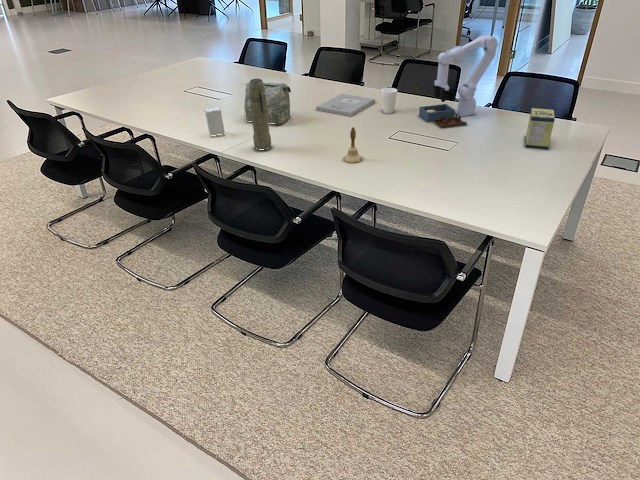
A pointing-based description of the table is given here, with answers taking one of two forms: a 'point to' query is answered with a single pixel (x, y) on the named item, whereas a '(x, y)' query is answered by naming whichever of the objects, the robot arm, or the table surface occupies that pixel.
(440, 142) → the table surface
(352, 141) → the hand bell
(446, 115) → the wash tub
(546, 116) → the protein box
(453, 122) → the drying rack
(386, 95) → the foam cup
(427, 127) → the table surface
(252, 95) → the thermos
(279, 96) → the lunch bag
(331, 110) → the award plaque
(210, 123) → the cosmetic box
